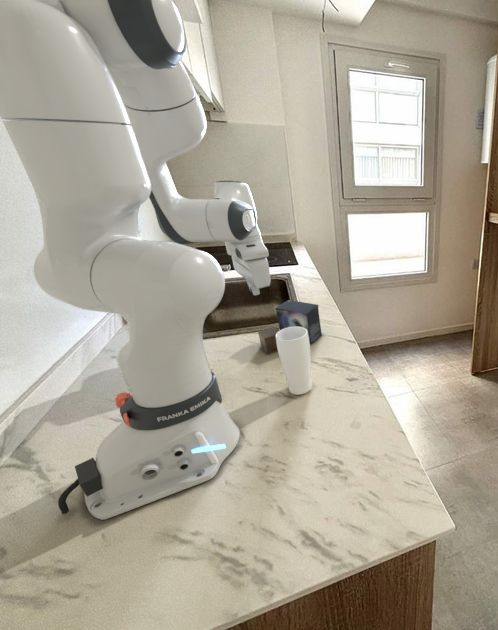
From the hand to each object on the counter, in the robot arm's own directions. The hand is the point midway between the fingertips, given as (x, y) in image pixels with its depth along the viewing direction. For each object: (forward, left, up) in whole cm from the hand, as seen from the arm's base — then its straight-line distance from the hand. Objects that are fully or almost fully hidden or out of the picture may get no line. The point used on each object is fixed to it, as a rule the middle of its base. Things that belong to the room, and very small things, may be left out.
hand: (255, 293), depth 94 cm
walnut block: (0, -8, -14) cm, 16 cm away
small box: (+8, -8, -14) cm, 18 cm away
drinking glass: (-2, -31, -14) cm, 34 cm away
